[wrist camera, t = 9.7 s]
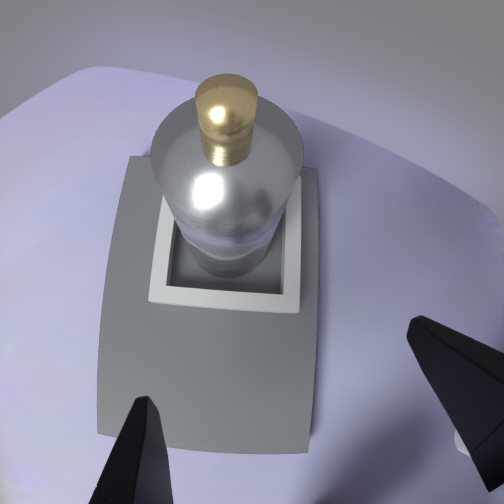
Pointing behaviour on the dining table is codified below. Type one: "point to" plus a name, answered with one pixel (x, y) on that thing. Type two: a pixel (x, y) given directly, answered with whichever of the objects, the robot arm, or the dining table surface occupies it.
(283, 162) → the gold-capped silver bottle
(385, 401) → the dining table surface
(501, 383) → the robot arm
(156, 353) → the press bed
